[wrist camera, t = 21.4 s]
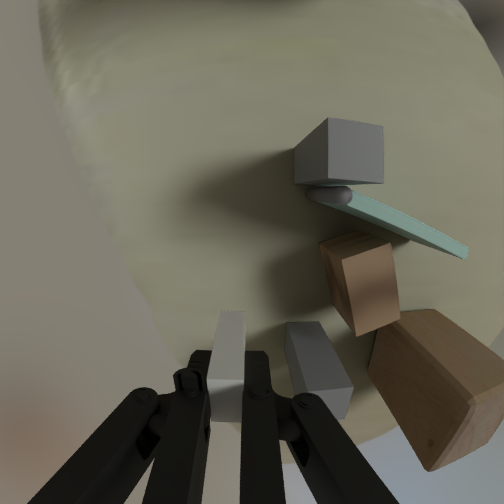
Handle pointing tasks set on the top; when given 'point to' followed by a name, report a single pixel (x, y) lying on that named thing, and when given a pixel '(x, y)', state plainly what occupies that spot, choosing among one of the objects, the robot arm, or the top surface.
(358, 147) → the hinge post
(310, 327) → the post
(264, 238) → the top surface
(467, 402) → the wooden block
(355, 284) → the brown rectangular block
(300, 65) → the top surface
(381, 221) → the gate
